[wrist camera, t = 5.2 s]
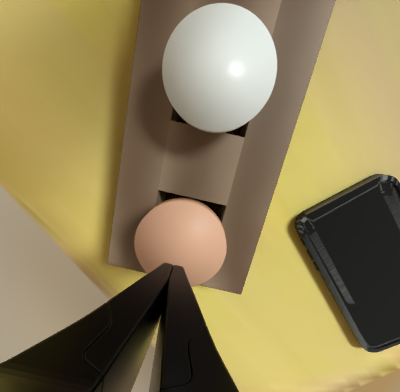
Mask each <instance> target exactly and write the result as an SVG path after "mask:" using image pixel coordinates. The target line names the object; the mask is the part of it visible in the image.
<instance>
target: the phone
mask: <svg viewBox="0 0 400 392" xmlns="http://www.w3.org/2000/svg"><path fill="white" fill-rule="evenodd" d="M295 228H296V230H297V232H298V234H299V236H300V238H301V241H302V243H303V244H304V245H305V247H306V248H307V252H308V254H309V256H310V257H311V259H312V260H313V261H314V262H313V263H314V265H315V267H316V269H317V270H319V272H320V274H321V276H322V277H323V279H324V281H325V283H326V285H327V286H328V288H329V290H330V292H331V294H332V296H333V297H334V299H335V301H336V303H337V305H338V306H339V308H340V310H341V312H342V314H343V315H344V317H345V319H346V321H347V323H348V325H349V326H350V328H351V330H352V332H353V334H354V335H355V337H356V339H357V340H358V342H359V343H360V344H361V345H362V347H363V348H364V349H365V350H366V351H368V352H380V351H382V350H385V349H388V348H390V347H393V346H395V345H398V344H400V183H399V181H398V180H397V179H396V178H395V177H393V176H389V175H383V174H375V175H372V176H369V177H368V178H366V179H364V180H362V181H360V182H358V183H356V184H354V185H352V186H350V187H349V188H347V189H345V190H343V191H341V192H339V193H337V194H335V195H333V196H331V197H330V198H328V199H326V200H324V201H322V202H320V203H318V204H316V205H314V206H312V207H311V208H309V209H307V210H305V211H303V212H302V213H300V214H299V215H298V217H297V218H296V221H295Z"/></svg>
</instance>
